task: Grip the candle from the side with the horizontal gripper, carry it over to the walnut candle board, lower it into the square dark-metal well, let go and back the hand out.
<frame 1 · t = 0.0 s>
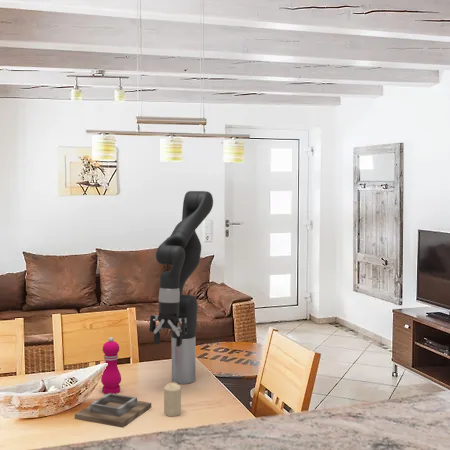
hand: (167, 345, 212), 17 cm above the table, tool pointing down, fingers open, 8 cm apart
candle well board: (114, 412, 193), on the table
candle: (172, 413, 193), on the table
pepper mill: (111, 391, 213), on the table
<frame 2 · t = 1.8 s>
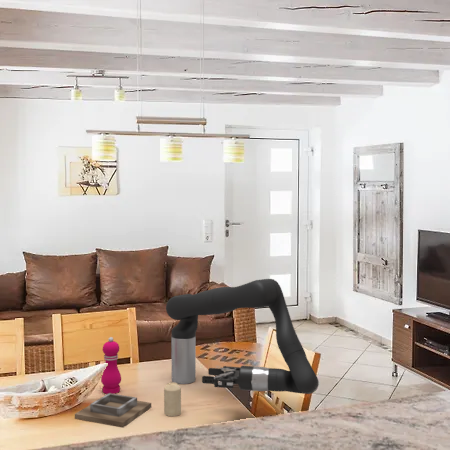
hand: (205, 375, 190), 14 cm above the table, tool horizontal, fingers open, 8 cm apart
nothing on the table moved.
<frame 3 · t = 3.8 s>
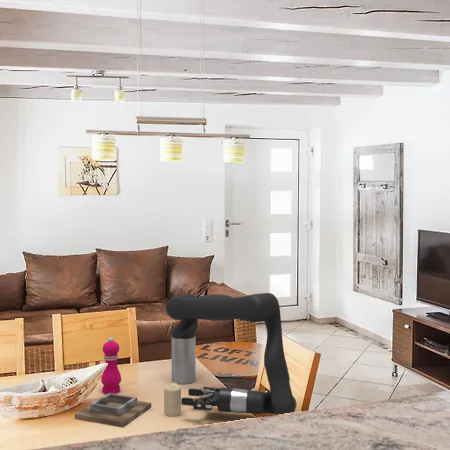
hand: (185, 396, 192), 6 cm above the table, tool horizontal, fingers open, 8 cm apart
nothing on the table moved.
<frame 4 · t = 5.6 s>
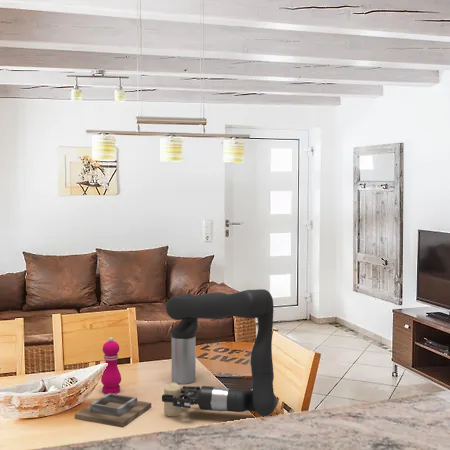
hand: (165, 394, 193), 6 cm above the table, tool horizontal, fingers closed on candle, 5 cm apart
candle: (172, 413, 193), on the table, touching gripper
everything else where it was.
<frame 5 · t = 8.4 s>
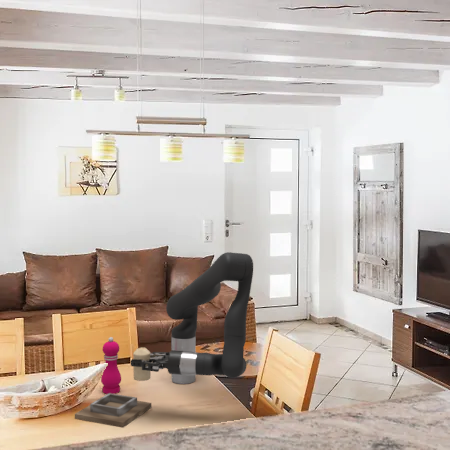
hand: (134, 359, 192), 18 cm above the table, tool horizontal, fingers closed on candle, 5 cm apart
candle: (142, 378, 192), point 11 cm above the table, touching gripper
everything else where it was.
when the fingers open (9 cm above the table, at t = 11.3 s): candle drops 1 cm, resting on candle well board.
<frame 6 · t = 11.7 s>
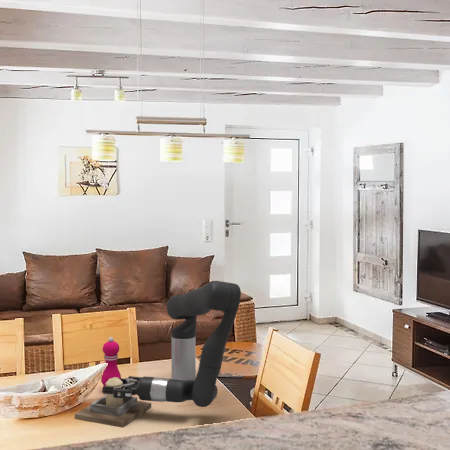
hand: (108, 385, 193), 9 cm above the table, tool horizontal, fingers open, 8 cm apart
candle: (114, 408, 193), point 1 cm above the table, touching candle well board
everything else where it was.
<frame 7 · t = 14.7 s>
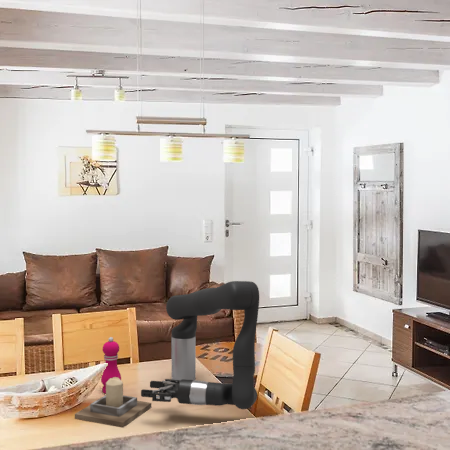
hand: (145, 388, 190), 9 cm above the table, tool horizontal, fingers open, 8 cm apart
nothing on the table moved.
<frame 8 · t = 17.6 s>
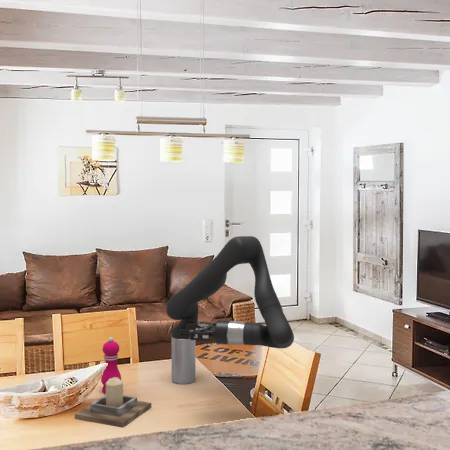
hand: (182, 329, 191), 28 cm above the table, tool horizontal, fingers open, 8 cm apart
nothing on the table moved.
at the end: candle 0.1 cm off-centre on the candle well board, point 1.3 cm above the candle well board's base; candle tilted 0°; the gripper is holding nothing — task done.
